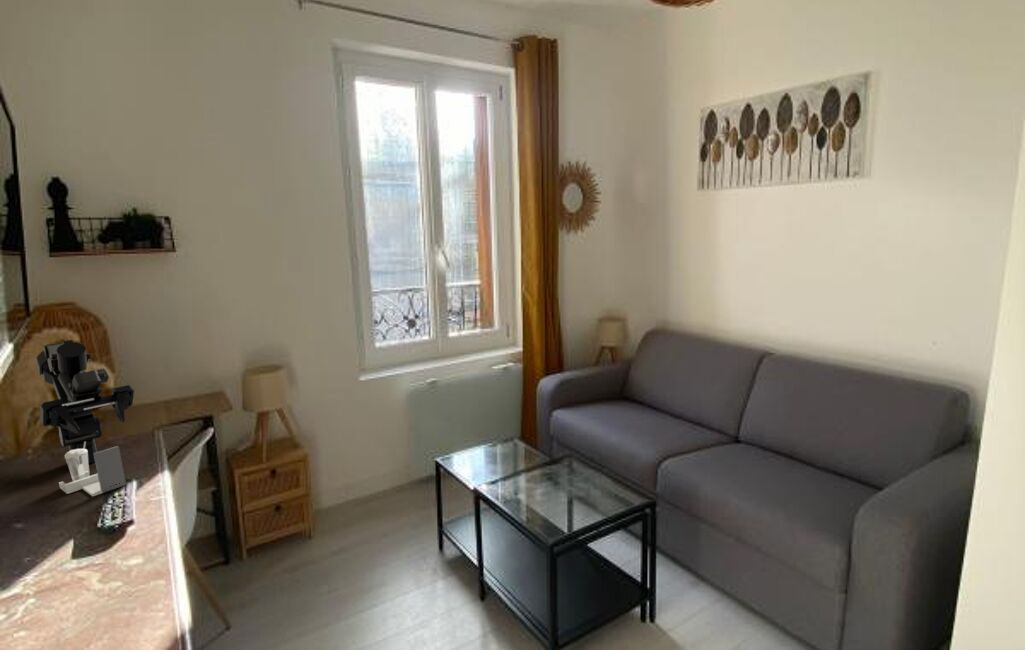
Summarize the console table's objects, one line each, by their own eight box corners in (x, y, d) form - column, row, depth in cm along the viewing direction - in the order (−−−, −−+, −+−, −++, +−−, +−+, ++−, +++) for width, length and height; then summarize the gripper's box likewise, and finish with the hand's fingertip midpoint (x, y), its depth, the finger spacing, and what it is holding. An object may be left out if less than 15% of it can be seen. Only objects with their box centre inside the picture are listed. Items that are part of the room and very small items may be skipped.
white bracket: (59, 488, 137) (51, 450, 135) (107, 472, 145) (99, 436, 143) (77, 501, 129) (68, 461, 127) (126, 484, 137) (118, 446, 135)
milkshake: (100, 478, 142) (93, 441, 140) (82, 487, 137) (75, 450, 135) (84, 478, 143) (77, 441, 141) (66, 487, 137) (58, 450, 136)
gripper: (31, 370, 130) (55, 413, 123) (123, 354, 145) (148, 393, 138) (31, 404, 135) (53, 448, 128) (119, 386, 150) (143, 424, 143)
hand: (102, 426), depth 134 cm, fingers open, 9 cm apart
